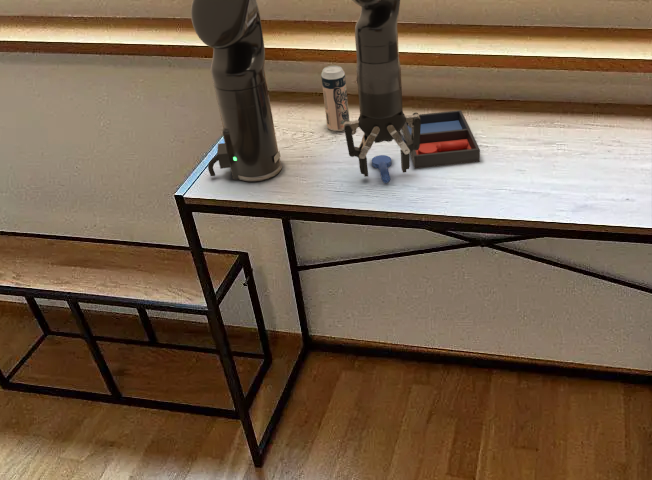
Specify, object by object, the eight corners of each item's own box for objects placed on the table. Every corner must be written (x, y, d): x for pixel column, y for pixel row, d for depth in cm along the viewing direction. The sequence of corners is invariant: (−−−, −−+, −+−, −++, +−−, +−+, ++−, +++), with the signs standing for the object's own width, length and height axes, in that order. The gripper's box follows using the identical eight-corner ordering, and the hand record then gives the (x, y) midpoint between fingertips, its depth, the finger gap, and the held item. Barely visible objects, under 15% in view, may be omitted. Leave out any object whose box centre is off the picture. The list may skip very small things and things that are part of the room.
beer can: (345, 133, 146) (339, 75, 138) (323, 131, 147) (316, 73, 139) (353, 123, 149) (348, 65, 141) (332, 121, 151) (326, 63, 142)
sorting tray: (414, 168, 134) (414, 156, 133) (401, 127, 147) (401, 116, 145) (479, 161, 135) (480, 149, 134) (461, 121, 148) (461, 110, 146)
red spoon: (466, 143, 139) (466, 136, 138) (470, 152, 137) (470, 144, 135) (416, 149, 139) (416, 141, 138) (419, 158, 136) (419, 150, 135)
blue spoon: (396, 183, 131) (396, 175, 130) (376, 185, 131) (376, 177, 129) (390, 158, 138) (389, 150, 137) (370, 160, 138) (370, 152, 136)
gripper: (339, 96, 117) (348, 187, 129) (424, 87, 118) (426, 178, 130) (335, 79, 122) (345, 167, 134) (417, 70, 123) (419, 159, 135)
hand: (385, 172), depth 132 cm, fingers open, 6 cm apart
